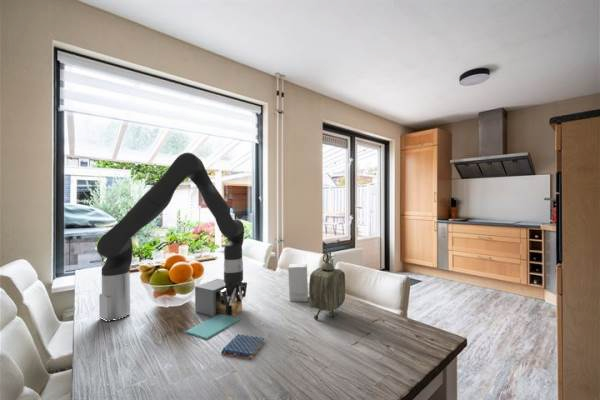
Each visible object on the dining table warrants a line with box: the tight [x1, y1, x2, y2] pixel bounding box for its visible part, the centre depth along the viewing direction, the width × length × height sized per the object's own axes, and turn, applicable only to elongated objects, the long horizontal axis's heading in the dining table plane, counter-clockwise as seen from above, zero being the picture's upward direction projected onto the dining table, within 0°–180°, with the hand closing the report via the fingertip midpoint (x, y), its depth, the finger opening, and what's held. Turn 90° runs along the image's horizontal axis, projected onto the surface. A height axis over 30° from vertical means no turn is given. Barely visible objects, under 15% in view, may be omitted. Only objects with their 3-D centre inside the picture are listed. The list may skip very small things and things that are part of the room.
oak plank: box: [216, 296, 243, 317], centre depth 111 cm, size 5×14×4 cm, turn 60°
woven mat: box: [220, 334, 266, 360], centre depth 82 cm, size 10×11×2 cm
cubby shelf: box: [194, 278, 237, 317], centre depth 113 cm, size 12×10×10 cm
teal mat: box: [185, 313, 241, 340], centre depth 97 cm, size 16×10×1 cm, turn 151°
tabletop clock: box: [308, 250, 346, 320], centre depth 104 cm, size 14×9×25 cm, turn 149°
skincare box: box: [287, 263, 309, 302], centre depth 122 cm, size 8×7×16 cm
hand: (234, 311), depth 108 cm, fingers closed on oak plank, 5 cm apart
